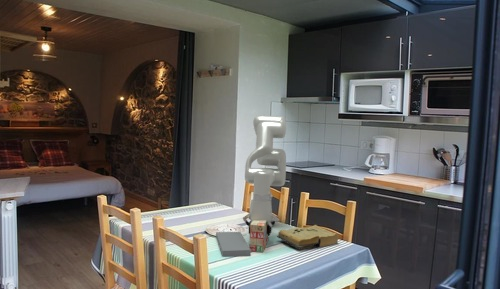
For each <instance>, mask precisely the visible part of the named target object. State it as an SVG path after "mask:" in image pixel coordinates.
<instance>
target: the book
mask: <svg viewBox="0 0 500 289" xmlns="http://www.w3.org/2000/svg"><path fill="white" fill-rule="evenodd" d="M276 237H277V238H278V239H281V240H282V241H284V242H285V244H287V245H289V246H291V247H293V248H295V249H297V250H304V249H311V248H316V249H320V248H325V247H330V246H336V245H339V234H338V233H337V232H332V231H330V230H327V229H326V228H322V227H320V226H318V225H317V224H314V225H313V226H307V227H297V226H296V227H292V228H291V229H281V230H279V231H278V234H277V235H276Z"/></svg>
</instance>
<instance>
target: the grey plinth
mask: <svg viewBox="0 0 500 289" xmlns="http://www.w3.org/2000/svg"><path fill="white" fill-rule="evenodd" d="M215 239H216V241H217V245H218V248H219V251H220V253H221V256H222V258H223V257H225V258H226V257H250V256H251V253H252V251H251V250H250V248H249V245H248V243H247V241H246V239H245V237H244V235H243V233H242V232H241V231H216V232H215Z"/></svg>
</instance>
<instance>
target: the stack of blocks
mask: <svg viewBox="0 0 500 289" xmlns="http://www.w3.org/2000/svg"><path fill="white" fill-rule="evenodd" d="M267 226H268V223H267V220H253V221H252V223H251V224H250V234H249V245H248V246H249V248H250V250H251V253H253V252H254V253H264V250H265V248H266V245H267V243H268V241H269V238H270V236H269V235H268V234H267Z"/></svg>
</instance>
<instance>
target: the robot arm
mask: <svg viewBox="0 0 500 289" xmlns="http://www.w3.org/2000/svg"><path fill="white" fill-rule="evenodd" d="M252 120H253V122H252V123H253V130H254V132H255V136H256V138H255V149H254V150H253V151H252V152H251V153H250V154H249V155H248V157H247V158H246V161H245V166H244V168H245V169H244V180H245V183H247V184H252V185H253V193H252V194H253V195H252V196H253V199H251V200H250V204H249V212H248V213H247V214H245V215H244V216H243V217H242V220H243V221H244V223H245V224H246V225H247V226H248V234H249V235H250V224H251V223H252V221H253V220H267V223H268V226H267V234H268V235H269V237H270V236H271V233H272V227H273V226H274V225H275V224H276V223H279V222H280V219H279V218H278V217H277V216H276V215H275V214H274V213H273V210H272V208H273V207H272V199H273V198H274V197H273V194H272V192H271V187H283V186H284V185H285V184H286V174H287V153H286V151H285V150H284V149H282V148H274V139H283V138H284V137H286V132H287V122H286V118H285V117H284V116H281V115H280V116H279V115H256V116H254V118H253V119H252ZM255 161H256V162H257V164H258V165H260V166H266V167H252V165H253V163H254V162H255ZM268 166H269V167H270V168H269V167H268ZM271 166H272V167H277V168H272V167H271ZM248 219H249V220H250V221H248Z"/></svg>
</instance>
